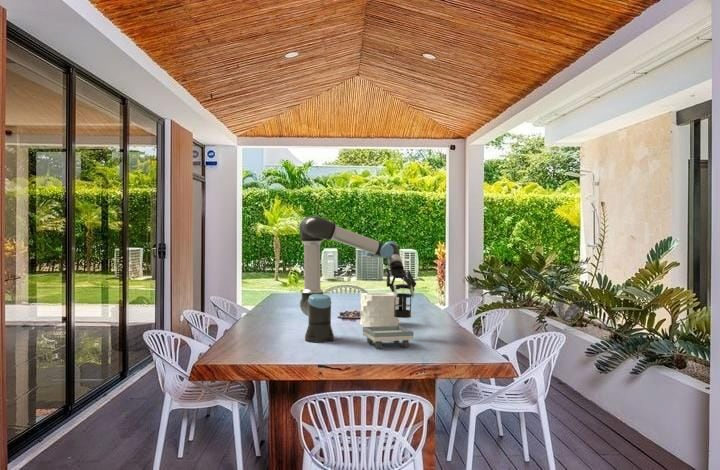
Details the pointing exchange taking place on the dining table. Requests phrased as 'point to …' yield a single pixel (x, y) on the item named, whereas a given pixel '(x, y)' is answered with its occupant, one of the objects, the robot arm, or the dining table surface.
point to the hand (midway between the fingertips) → (404, 296)
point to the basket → (378, 309)
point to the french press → (403, 301)
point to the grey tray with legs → (387, 335)
